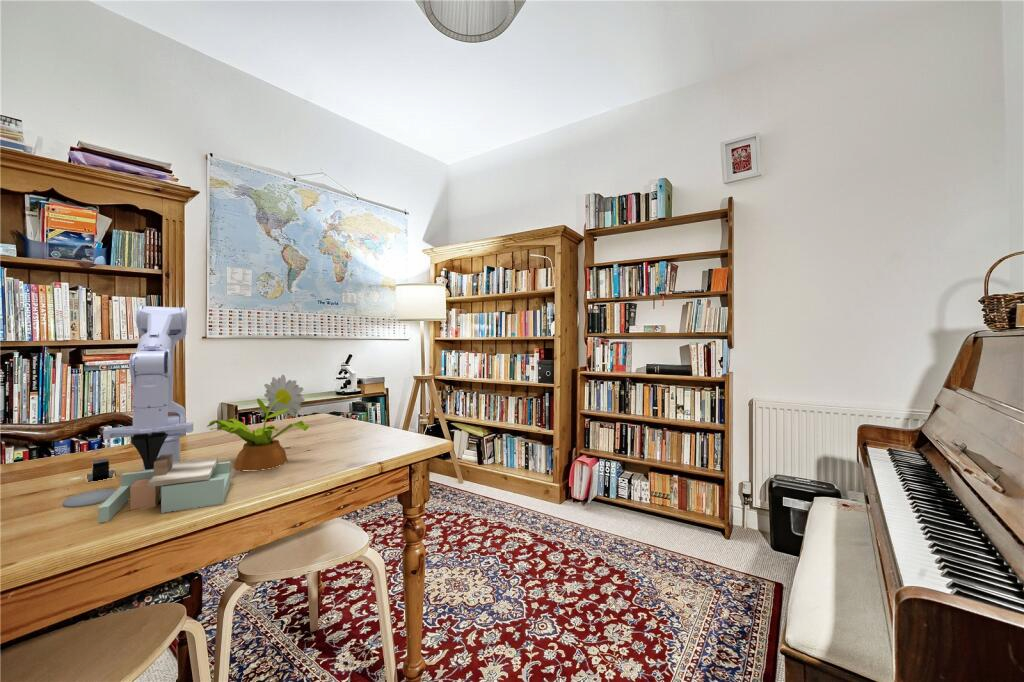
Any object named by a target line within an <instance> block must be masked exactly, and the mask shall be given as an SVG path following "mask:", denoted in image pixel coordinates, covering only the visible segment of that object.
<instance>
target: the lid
mask: <svg viewBox="0 0 1024 682" xmlns="http://www.w3.org/2000/svg"><path fill="white" fill-rule="evenodd" d="M217 463H219V457H209V458H200V459H192V460H190V459H189V460H182V461H181V460H180V462H173V454H164V455H161V456H160V457H159V458H158V459H157V460H156V461H155V462H154V477H153V478H152V479H151V480H150V481H149V482H148V487H153V486H161V485H169V484H177V483H184V482H192V481H200V480H208V479H209V478H210V476H211V474H212V472H213V470H214V468H215V466H216V464H217Z"/></svg>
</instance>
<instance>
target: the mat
mask: <svg viewBox="0 0 1024 682" xmlns="http://www.w3.org/2000/svg"><path fill="white" fill-rule="evenodd" d="M117 489H118V488H107V489H106V488H104V489H98V490H90V491H85V492H81V493H79V494H74V495H72V496H69V497H68V498H65V499H63V500H62V506H63V507H64V506H65V508H81V507H89V506H95V505H99V504H103V503H104V502H105V501H106V500H107V499H108V498H109V497H110V496H111V495H112V494H113V493H114V492H115V491H116V490H117ZM102 502H103V503H102ZM98 503H99V504H98ZM94 504H95V505H94Z"/></svg>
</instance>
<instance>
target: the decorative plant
mask: <svg viewBox="0 0 1024 682" xmlns="http://www.w3.org/2000/svg"><path fill="white" fill-rule="evenodd" d="M263 386H264V388H265V389H266V390H265V393H264V397H265V398H267V401H268V404H267V406H266V405H265V403H264V402H263V401H262V400H261V399H260V398H257V399H256V402H257V403H258V406H259V408H260V409H261V411H262V412H264V413H265V415H266V416H265V418H264V422H263V426H262V427H258V428H257V429H254V430H253V429H252V430H250V429H249V428H248V426H247V425H246V424H245V423H244V422H242V421H239V420H238V419H237V418H235V417H234V418H229V419H226V420H225V419H221V420H220V419H218V420H215V419H214V420H212V421H210V422H209V423H208V425H207V426H206V428H208V427H211V426H214V425H215V424H219V426H217V427H216V428H214V427H211V428H209V429H210V431H211V430H214V429H215V430H218V429H219V431H222V430H223V431H225V432H227V433H228V434H229V433H230V434H234V435H236V436H238V437H240V438H241V439H242V440H243V441H244V442H245V443H244V444H243V446H242V449H241V450H240V451H239V452H238V454H237V455H236V457H235V461H234V464H233V469H234V468H235V469H238V470H260V471H263V470H262V469H266V470H269V469H268V468H271V469H273V468H272V467H275V468H277V467H276V466H278V467H280V466H279V465H281V466H283V465H285V464H286V463H287V462H288V457H287V453H286V450H285V449H284V447H283V446H282V445H281V444H280V440H279V439H276V438H277V437H278V436H280V435H281V434H283V433H284V432H287V430H289V429H291V428H292V427H297V428H300V429H301V430H303V431H305V432H306V431H307V430H308V429H309V427H310V426H311V425H310V424H305V423H304V421H303V420H300V421H297V422H294V423H289V424H288V425H287V426H285V428H282V429H281V430H280V431H279V432H278V430H279V429H278V428H276V426H275V425H273V424H270V425H269V426H266V424H267V421H268V419H271V418H274V417H277V416H279V415H283V417H284V418H286V419H287V418H288V416H289V415H290V416H291V417H293V418H295V417H296V413H299V411H301V409H302V407H301V406H300V405H302V403H303V402H305V399H304V398H303V394H301V393H302V392H303V391H304V387H302V386H301V387H300V385H299V384H297V380H295V379H294V380H292V379H289V380H287V379H286V375H284V374H282V375H280V377H278V378H277V379H276V377H274V376H273V377H271V382H270V384H269V383H265V384H264V385H263ZM267 407H268V408H269V409H268V408H267ZM271 410H274V412H273V413H271V414H270V415H269V413H270V412H271ZM273 431H276V432H278V433H276V434H274V435H273ZM272 435H273V436H272ZM286 461H287V462H286ZM285 462H286V463H285ZM284 463H285V464H284ZM282 464H283V465H282ZM235 469H234V470H235ZM238 470H237V471H238Z"/></svg>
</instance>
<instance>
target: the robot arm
mask: <svg viewBox="0 0 1024 682" xmlns="http://www.w3.org/2000/svg"><path fill="white" fill-rule="evenodd" d="M135 313H136V314H135V321H136V322H135V325H136V327H137V330H138V334H139V336H140V338H139V341H138V342H137V343H138V344H137V347H136V352H135V353H131V354H130V356H129V360H128V368H129V374H130V383H131V384H130V386H132V425H128V426H127V425H126V426H119V427H109V428H106V429H103V433H102V434H103V437H102V438H103V440H111V439H118V438H131V437H132V440H131V444H132V445H133V447H134V448H135V450H136V451H137V452H138V454H139V455H140V458H141V460H142V471H148V470H154V462H155V461H156V460H157V459H158V458H159V457H160V456H161V455H164V454H173V462H180V461H181V442H180V438H181V437H184V435H186V433H187V434H189V433H193V432H194V422H193V421H192V422H187V414H186V409H185V407H184V406H183V405H181V404H179V403H177V402H175V401H174V375H175V374H174V370H175V369H174V368H175V365H174V364H175V348H176V345H177V343H178V341H181V340H183V339H186V336H187V327H188V326H187V324H188V310H187V308H185V307H183V306H181V307H176V306H175V307H174V306H152V305H151V306H148V305H144V304H143V305H142V304H141V305H139V306H138V307H137V308H136V312H135Z"/></svg>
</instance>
